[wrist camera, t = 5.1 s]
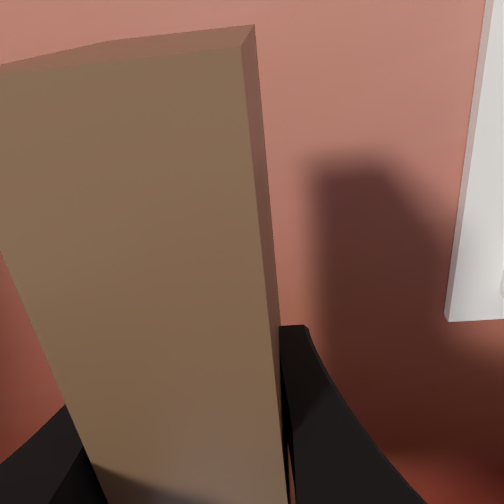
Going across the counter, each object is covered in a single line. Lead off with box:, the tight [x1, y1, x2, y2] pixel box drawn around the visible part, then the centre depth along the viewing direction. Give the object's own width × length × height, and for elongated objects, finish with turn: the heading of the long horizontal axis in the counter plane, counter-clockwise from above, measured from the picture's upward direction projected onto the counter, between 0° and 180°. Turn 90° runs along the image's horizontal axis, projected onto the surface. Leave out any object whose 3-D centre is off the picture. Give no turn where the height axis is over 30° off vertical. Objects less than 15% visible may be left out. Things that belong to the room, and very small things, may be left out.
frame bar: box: [0, 24, 296, 504], centre depth 10 cm, size 14×3×6 cm, turn 6°
